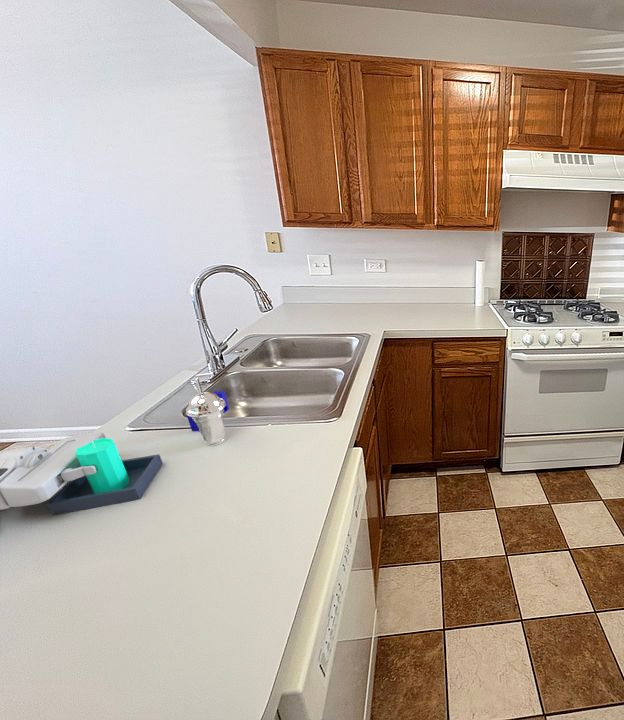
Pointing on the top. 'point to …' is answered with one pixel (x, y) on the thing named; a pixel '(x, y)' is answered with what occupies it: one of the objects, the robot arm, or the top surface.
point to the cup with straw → (208, 414)
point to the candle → (103, 465)
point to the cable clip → (222, 395)
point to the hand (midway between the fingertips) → (105, 459)
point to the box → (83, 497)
